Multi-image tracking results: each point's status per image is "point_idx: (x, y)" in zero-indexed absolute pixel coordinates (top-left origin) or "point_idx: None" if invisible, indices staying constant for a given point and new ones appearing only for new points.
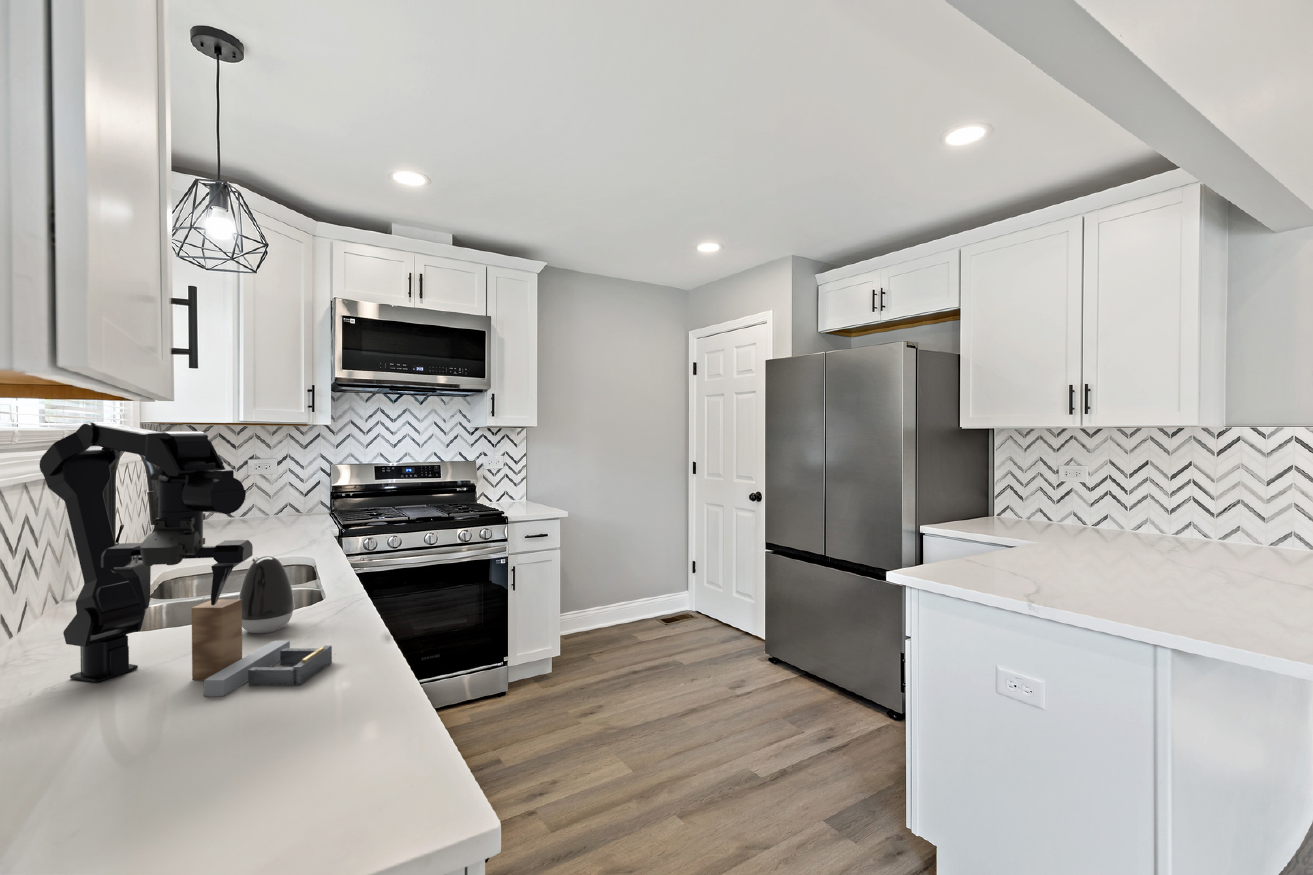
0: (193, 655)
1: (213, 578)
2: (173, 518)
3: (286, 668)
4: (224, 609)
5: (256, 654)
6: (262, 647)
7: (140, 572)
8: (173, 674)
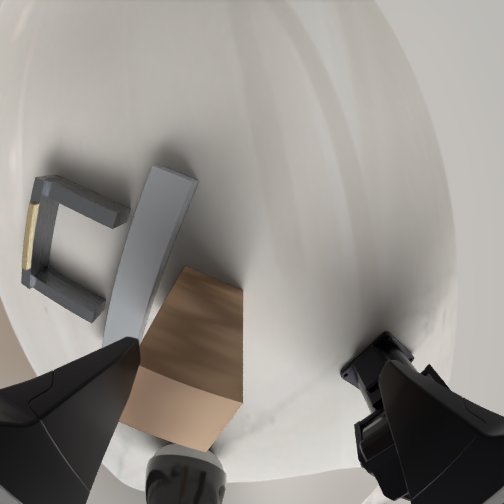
0: (239, 314)
1: (48, 408)
2: None
3: (57, 194)
4: None
5: (129, 311)
6: None
7: (482, 467)
8: (283, 331)
